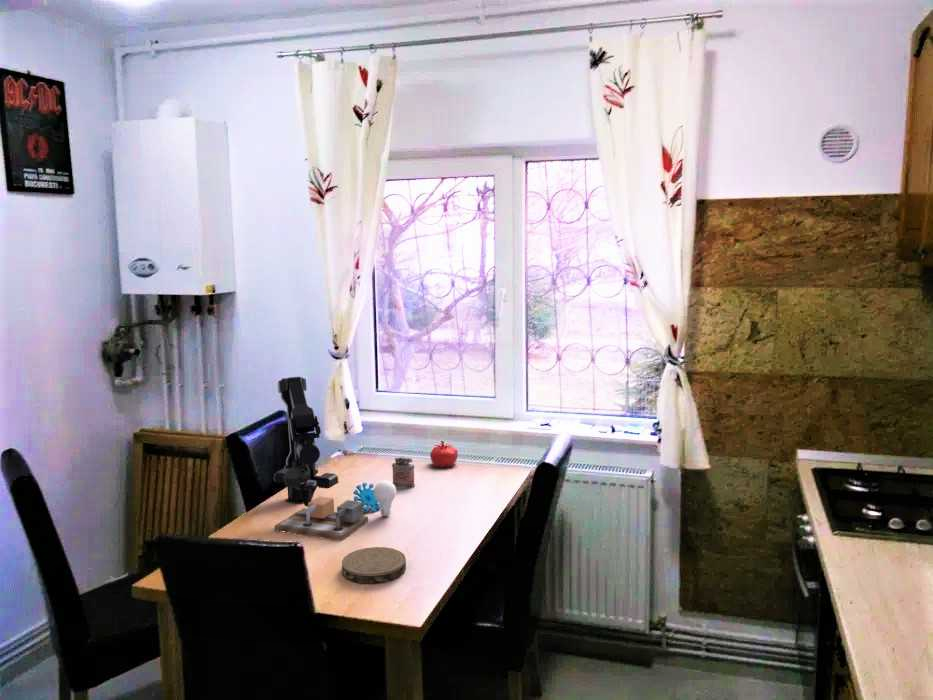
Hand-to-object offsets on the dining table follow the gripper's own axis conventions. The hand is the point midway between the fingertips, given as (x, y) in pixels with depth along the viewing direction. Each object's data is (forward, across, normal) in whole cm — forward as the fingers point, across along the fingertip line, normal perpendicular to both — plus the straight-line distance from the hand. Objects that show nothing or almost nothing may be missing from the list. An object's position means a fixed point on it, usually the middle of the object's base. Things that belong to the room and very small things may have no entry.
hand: (307, 506), depth 221 cm
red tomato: (+5, +18, +63) cm, 66 cm away
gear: (+5, +13, +15) cm, 20 cm away
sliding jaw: (+2, +5, -2) cm, 6 cm away
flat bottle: (+5, +14, +37) cm, 40 cm away
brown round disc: (+5, +34, -24) cm, 42 cm away
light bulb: (+5, +21, +10) cm, 23 cm away
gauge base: (+4, +6, -3) cm, 8 cm away
